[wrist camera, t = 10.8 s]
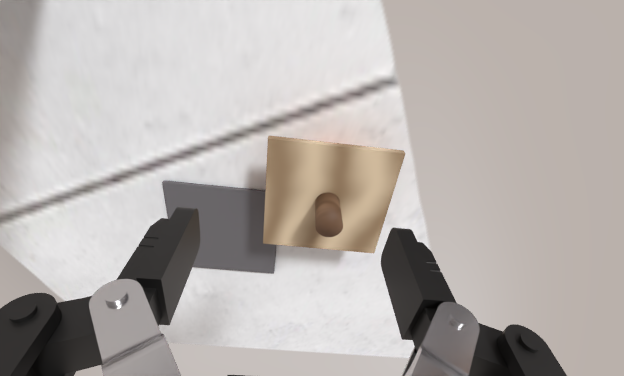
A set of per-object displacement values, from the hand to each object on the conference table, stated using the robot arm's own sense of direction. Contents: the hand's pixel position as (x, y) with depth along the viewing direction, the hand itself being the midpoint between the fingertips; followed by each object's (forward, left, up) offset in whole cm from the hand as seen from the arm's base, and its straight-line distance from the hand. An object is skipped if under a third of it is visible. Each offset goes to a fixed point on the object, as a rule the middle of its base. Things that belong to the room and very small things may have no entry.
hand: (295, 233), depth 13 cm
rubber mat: (-10, -23, -26) cm, 37 cm away
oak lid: (+4, -12, -21) cm, 25 cm away
